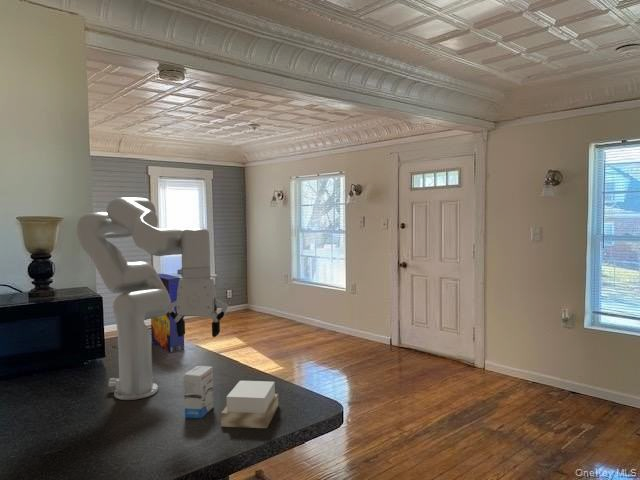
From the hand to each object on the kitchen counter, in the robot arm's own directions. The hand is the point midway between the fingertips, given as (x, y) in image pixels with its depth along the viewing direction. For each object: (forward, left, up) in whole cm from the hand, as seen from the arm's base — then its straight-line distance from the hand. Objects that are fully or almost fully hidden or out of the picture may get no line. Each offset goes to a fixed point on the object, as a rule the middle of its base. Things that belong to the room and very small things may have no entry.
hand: (198, 335), depth 126 cm
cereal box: (-39, +64, -22) cm, 78 cm away
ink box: (0, 0, -22) cm, 22 cm away
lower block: (+15, -1, -22) cm, 26 cm away
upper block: (+15, -1, -18) cm, 23 cm away
